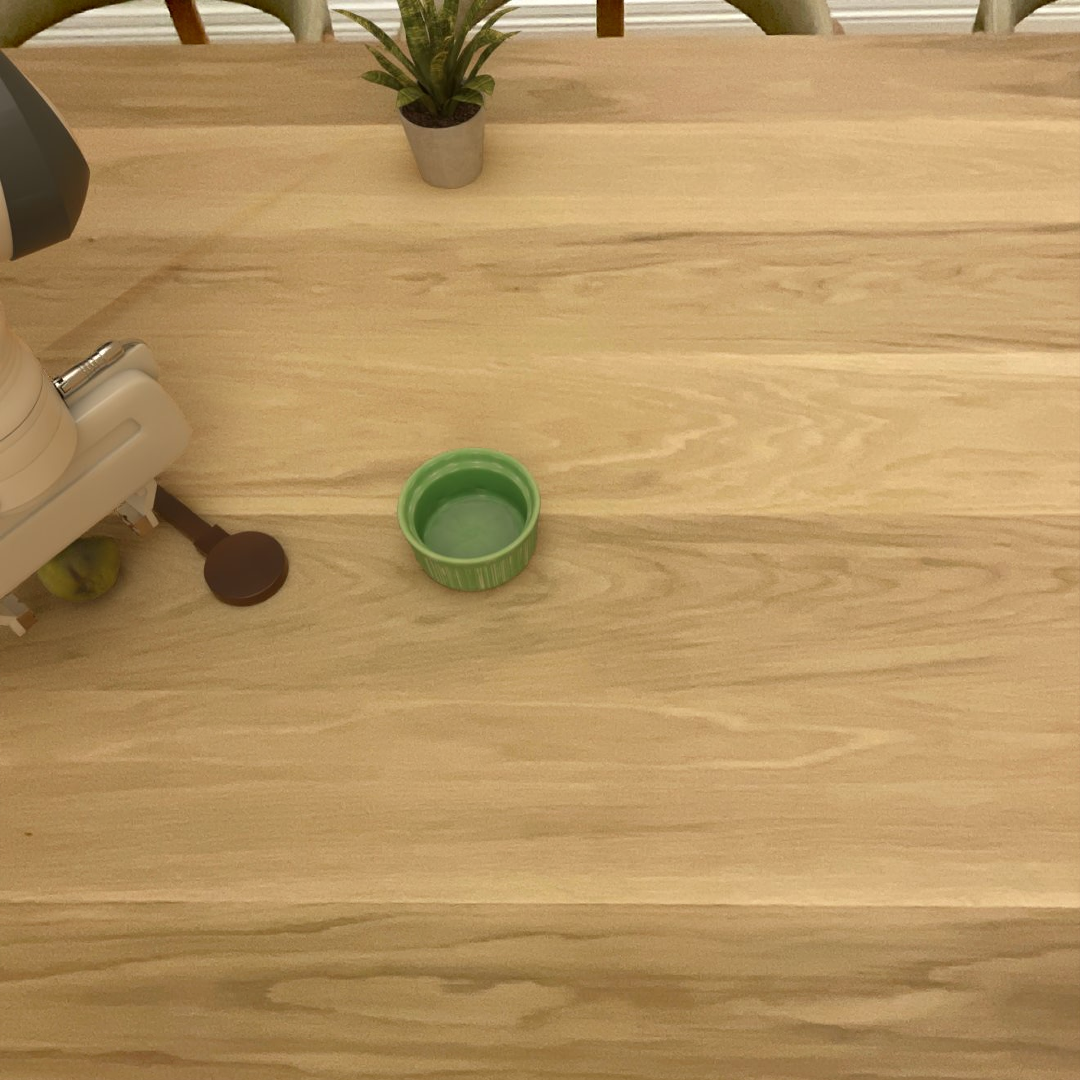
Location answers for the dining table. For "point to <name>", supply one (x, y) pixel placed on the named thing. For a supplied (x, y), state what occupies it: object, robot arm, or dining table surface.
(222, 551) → the spoon
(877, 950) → the dining table surface
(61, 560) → the lime
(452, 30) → the house plant
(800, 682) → the dining table surface
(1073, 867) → the dining table surface
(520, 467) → the ramekin
